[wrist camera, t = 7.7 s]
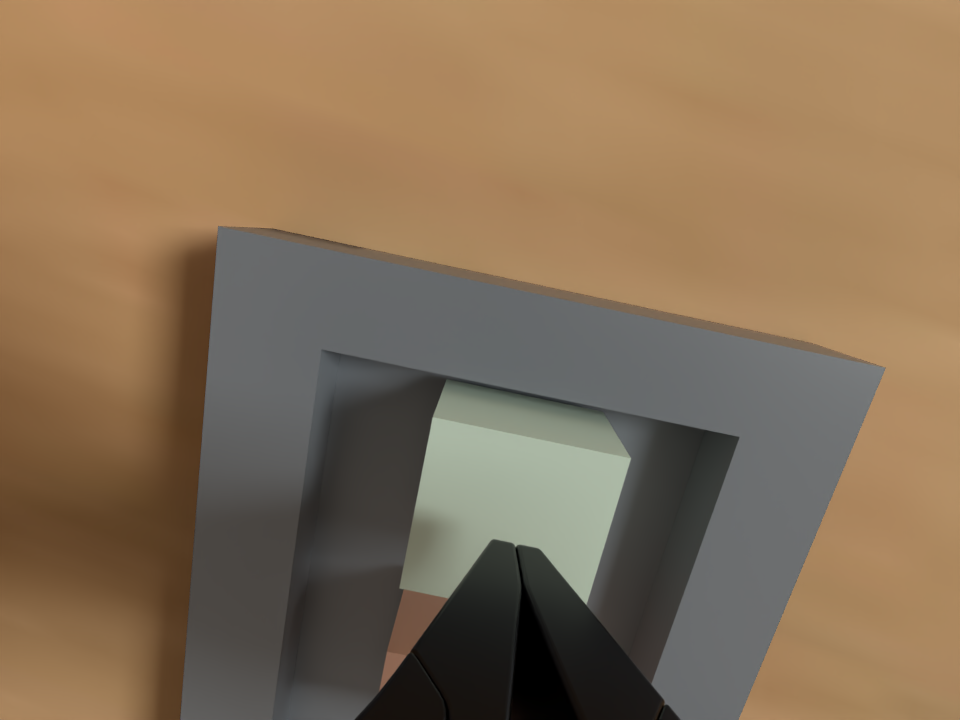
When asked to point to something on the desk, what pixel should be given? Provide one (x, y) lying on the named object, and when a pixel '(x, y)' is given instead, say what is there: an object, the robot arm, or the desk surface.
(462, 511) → the key sage
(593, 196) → the desk surface
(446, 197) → the desk surface
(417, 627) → the key terracotta
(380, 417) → the keypad board
